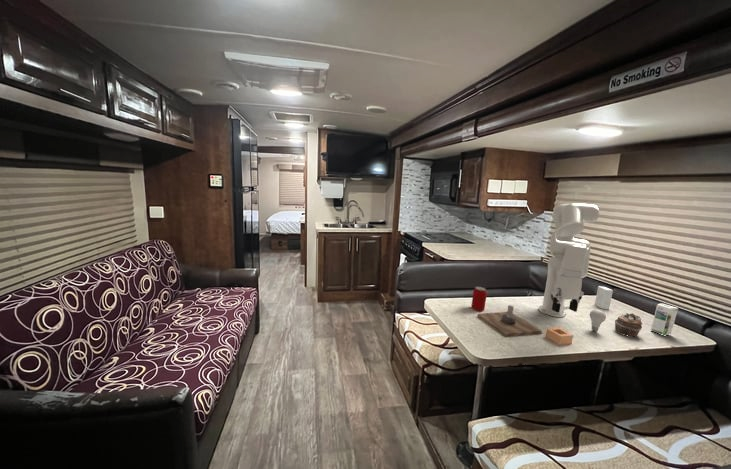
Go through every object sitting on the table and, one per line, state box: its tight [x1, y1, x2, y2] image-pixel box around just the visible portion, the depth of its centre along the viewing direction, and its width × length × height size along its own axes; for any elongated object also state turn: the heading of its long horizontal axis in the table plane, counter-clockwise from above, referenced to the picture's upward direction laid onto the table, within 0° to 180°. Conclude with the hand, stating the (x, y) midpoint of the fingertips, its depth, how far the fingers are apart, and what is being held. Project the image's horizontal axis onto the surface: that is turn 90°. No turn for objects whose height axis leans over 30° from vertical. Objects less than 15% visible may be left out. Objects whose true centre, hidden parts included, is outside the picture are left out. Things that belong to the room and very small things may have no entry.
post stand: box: [476, 304, 543, 338], centre depth 138 cm, size 20×20×10 cm
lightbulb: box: [589, 308, 607, 332], centre depth 137 cm, size 6×6×11 cm
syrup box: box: [650, 303, 679, 336], centre depth 139 cm, size 6×6×14 cm
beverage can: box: [471, 286, 488, 312], centre depth 154 cm, size 7×7×12 cm
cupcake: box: [614, 312, 643, 337], centre depth 137 cm, size 10×10×10 cm
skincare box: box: [594, 285, 614, 310], centre depth 168 cm, size 6×4×12 cm
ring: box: [544, 326, 574, 346], centre depth 127 cm, size 7×7×4 cm
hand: (564, 310), depth 124 cm, fingers open, 9 cm apart
